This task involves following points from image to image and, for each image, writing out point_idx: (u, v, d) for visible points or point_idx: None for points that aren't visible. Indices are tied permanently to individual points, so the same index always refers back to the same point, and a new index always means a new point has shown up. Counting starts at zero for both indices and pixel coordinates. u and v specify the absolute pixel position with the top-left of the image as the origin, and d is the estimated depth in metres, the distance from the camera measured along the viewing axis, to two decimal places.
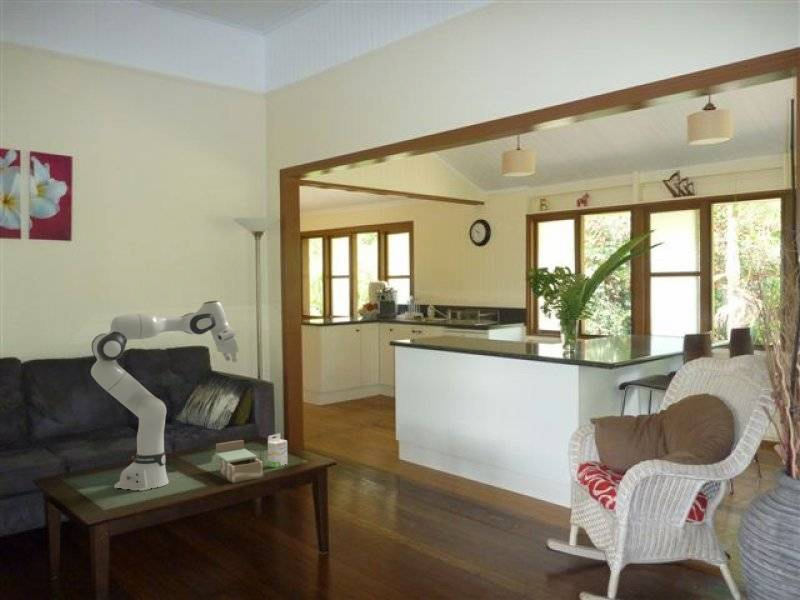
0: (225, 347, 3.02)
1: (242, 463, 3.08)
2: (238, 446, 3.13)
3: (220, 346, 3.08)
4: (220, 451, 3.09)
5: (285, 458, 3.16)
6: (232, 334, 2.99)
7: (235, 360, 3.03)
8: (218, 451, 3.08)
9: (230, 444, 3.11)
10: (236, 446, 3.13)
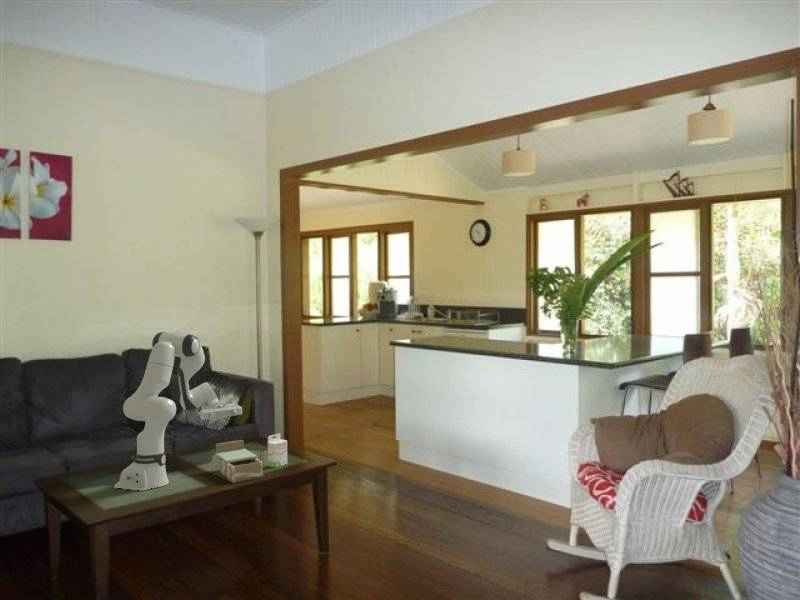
0: (227, 408, 3.25)
1: (242, 463, 3.08)
2: (238, 446, 3.13)
3: (214, 409, 3.22)
4: (220, 451, 3.09)
5: (285, 458, 3.16)
6: None
7: None
8: (218, 451, 3.08)
9: (230, 444, 3.11)
10: (236, 446, 3.13)
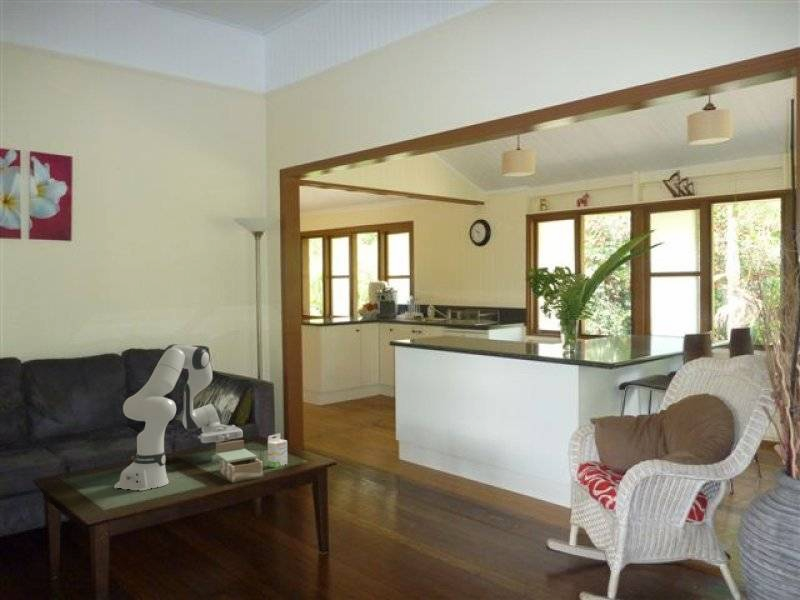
0: (228, 431, 3.26)
1: (242, 463, 3.08)
2: (238, 446, 3.13)
3: (215, 432, 3.22)
4: (220, 451, 3.09)
5: (285, 458, 3.16)
6: None
7: None
8: (218, 451, 3.08)
9: (230, 444, 3.11)
10: (236, 446, 3.13)
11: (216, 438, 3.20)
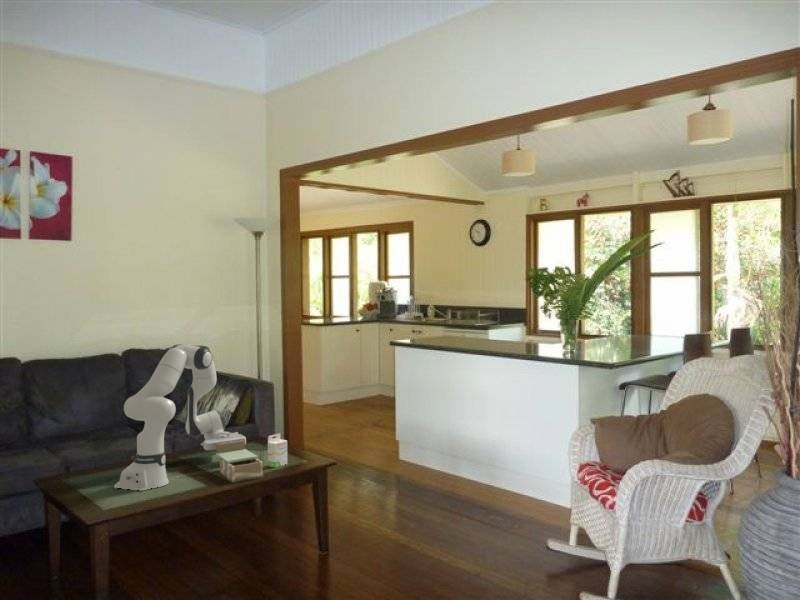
0: (231, 438, 3.21)
1: (242, 463, 3.08)
2: (239, 446, 3.13)
3: (218, 440, 3.17)
4: (221, 451, 3.08)
5: (285, 458, 3.16)
6: None
7: None
8: (219, 451, 3.07)
9: (231, 444, 3.11)
10: (237, 446, 3.12)
11: None
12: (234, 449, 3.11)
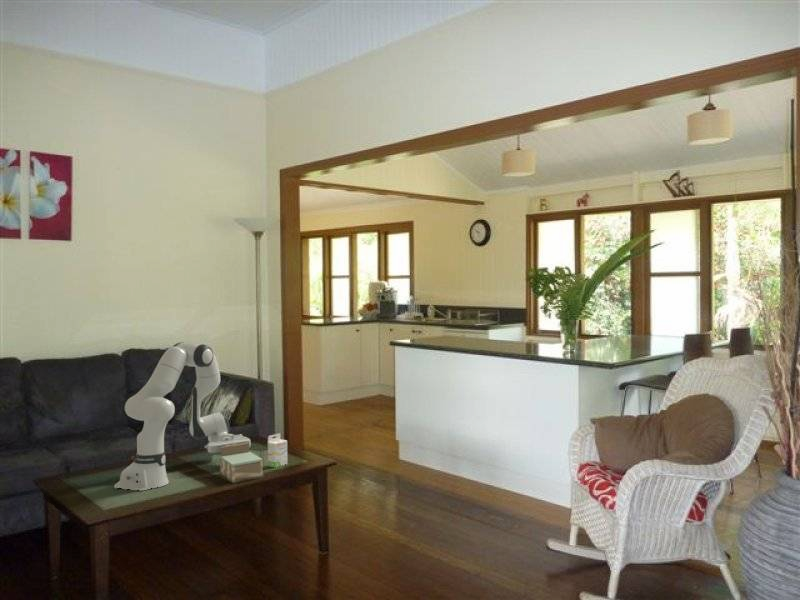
0: (235, 440, 3.15)
1: None
2: (243, 449, 3.07)
3: (222, 442, 3.12)
4: (225, 454, 3.03)
5: (285, 458, 3.16)
6: None
7: None
8: (223, 454, 3.02)
9: (235, 447, 3.05)
10: (241, 449, 3.07)
11: None
12: (238, 452, 3.06)
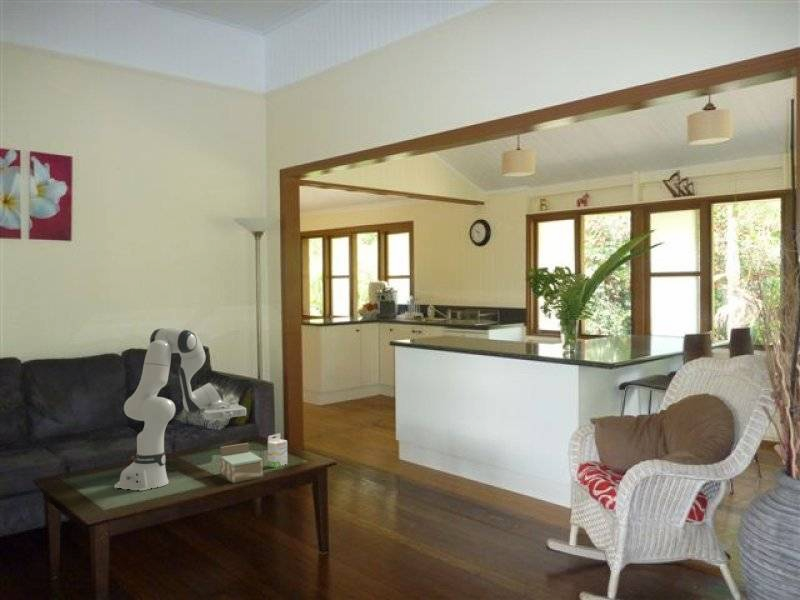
0: None
1: None
2: (243, 449, 3.07)
3: (218, 410, 3.16)
4: (225, 454, 3.03)
5: (285, 458, 3.16)
6: None
7: None
8: (223, 454, 3.02)
9: (235, 447, 3.05)
10: (241, 449, 3.07)
11: (219, 415, 3.14)
12: (238, 452, 3.06)
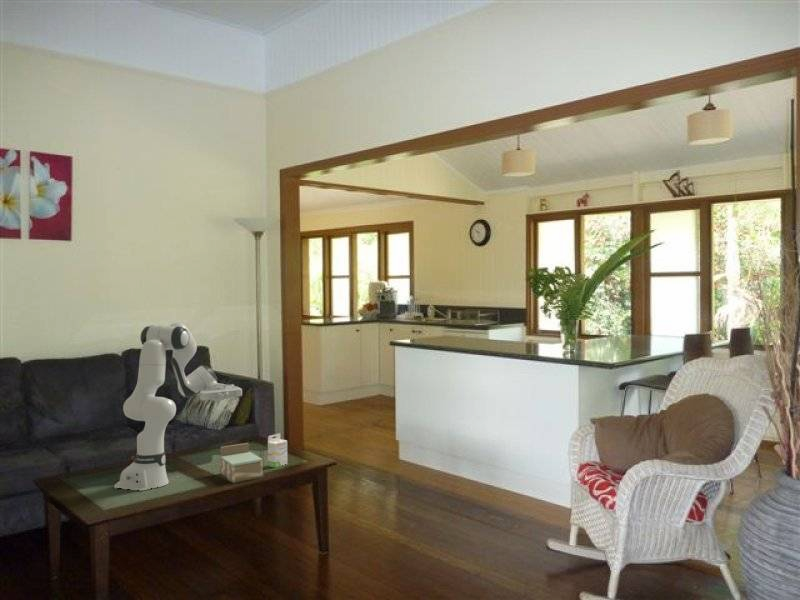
0: (227, 389, 3.23)
1: None
2: (243, 449, 3.07)
3: None
4: (225, 454, 3.03)
5: (285, 458, 3.16)
6: None
7: None
8: (223, 454, 3.02)
9: (235, 447, 3.05)
10: (241, 449, 3.07)
11: (215, 396, 3.17)
12: (238, 452, 3.06)
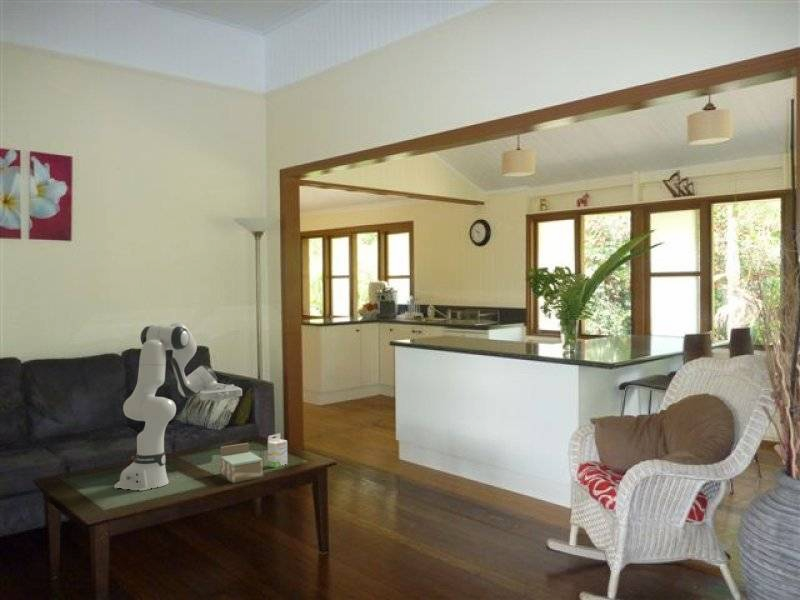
0: (227, 389, 3.23)
1: None
2: (243, 449, 3.07)
3: None
4: (225, 454, 3.03)
5: (285, 458, 3.16)
6: None
7: None
8: (223, 454, 3.02)
9: (235, 447, 3.05)
10: (241, 449, 3.07)
11: (215, 396, 3.17)
12: (238, 452, 3.06)
